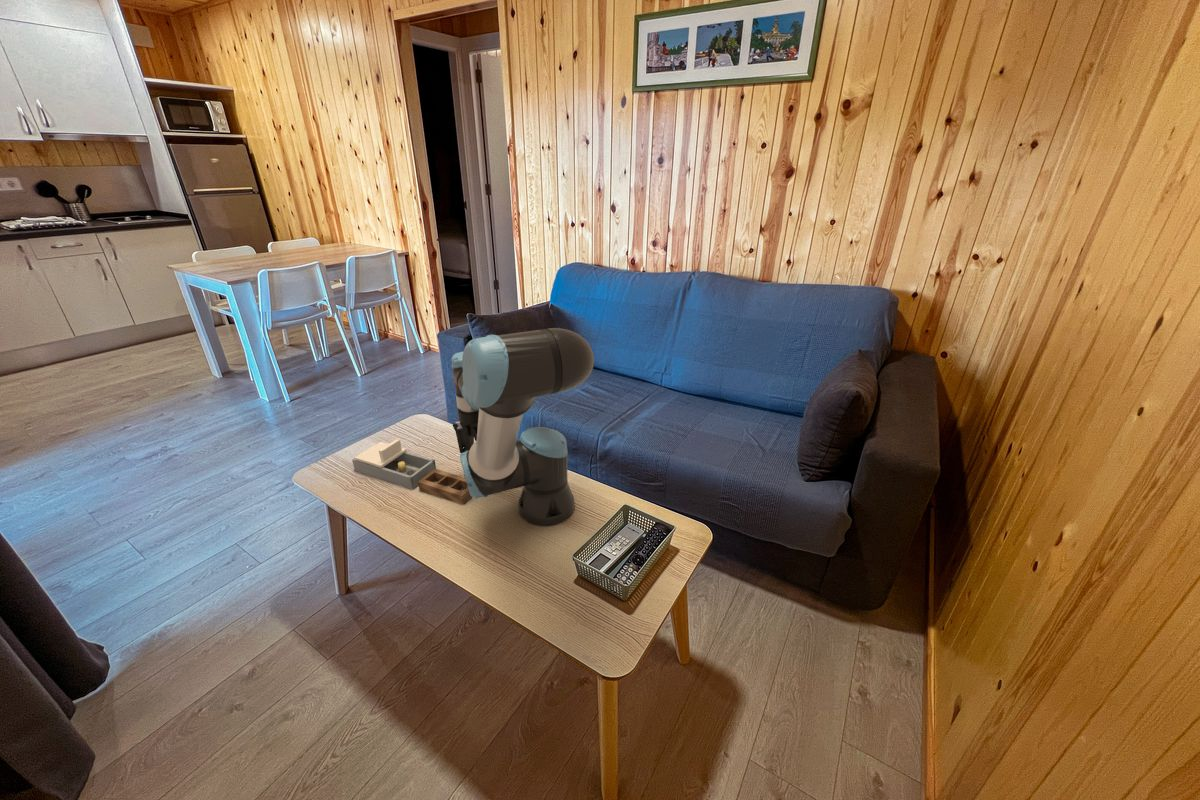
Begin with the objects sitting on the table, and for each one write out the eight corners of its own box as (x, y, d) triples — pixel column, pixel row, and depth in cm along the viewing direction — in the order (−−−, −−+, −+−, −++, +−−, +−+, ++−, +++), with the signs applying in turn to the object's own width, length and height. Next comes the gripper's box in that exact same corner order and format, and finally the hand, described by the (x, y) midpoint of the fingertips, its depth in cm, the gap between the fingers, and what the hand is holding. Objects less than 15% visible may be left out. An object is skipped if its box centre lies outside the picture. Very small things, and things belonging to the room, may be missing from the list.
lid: (406, 451, 143) (404, 437, 140) (381, 468, 134) (378, 454, 132) (381, 443, 146) (378, 430, 144) (354, 459, 138) (351, 446, 136)
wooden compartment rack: (479, 490, 133) (478, 481, 132) (463, 504, 127) (462, 495, 126) (436, 476, 138) (435, 468, 137) (419, 490, 132) (417, 481, 131)
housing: (436, 471, 141) (434, 460, 139) (412, 489, 132) (410, 478, 131) (380, 454, 148) (378, 443, 147) (354, 470, 140) (351, 459, 138)
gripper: (503, 406, 129) (509, 475, 139) (456, 395, 134) (465, 462, 145) (488, 418, 122) (495, 489, 133) (438, 406, 128) (449, 475, 138)
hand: (479, 475), depth 139 cm, fingers open, 3 cm apart
